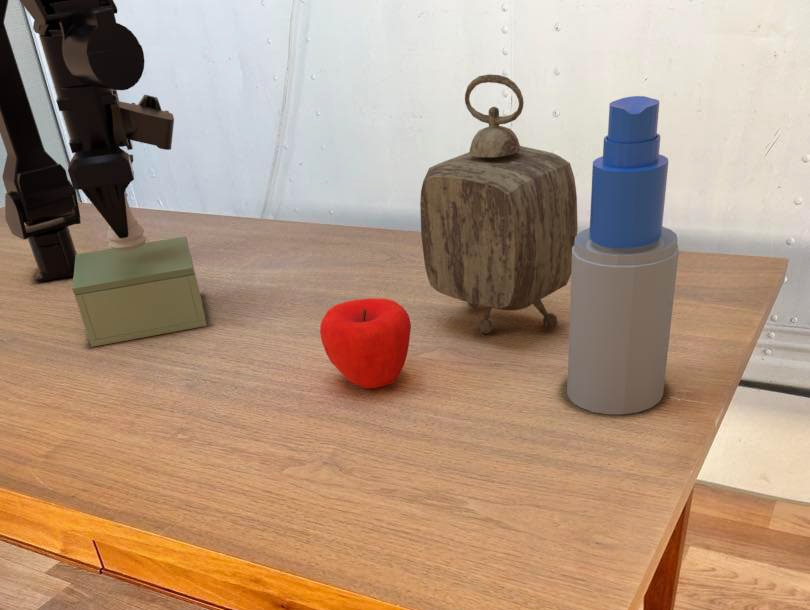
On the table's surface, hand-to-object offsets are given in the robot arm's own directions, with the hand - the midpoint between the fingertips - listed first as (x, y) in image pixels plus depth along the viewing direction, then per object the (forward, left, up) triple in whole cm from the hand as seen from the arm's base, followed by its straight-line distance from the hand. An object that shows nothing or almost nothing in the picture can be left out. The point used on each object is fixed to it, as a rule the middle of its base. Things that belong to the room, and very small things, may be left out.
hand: (124, 231), depth 99 cm
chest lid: (0, 0, -4) cm, 4 cm away
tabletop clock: (+22, +38, -11) cm, 45 cm away
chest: (+1, 0, -11) cm, 11 cm away
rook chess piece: (0, 0, -2) cm, 2 cm away
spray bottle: (+41, +43, -11) cm, 60 cm away
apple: (+29, +22, -11) cm, 38 cm away
